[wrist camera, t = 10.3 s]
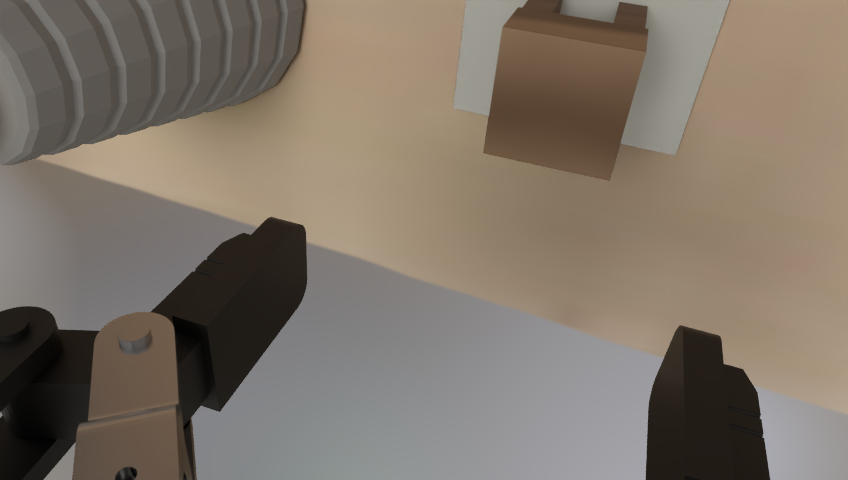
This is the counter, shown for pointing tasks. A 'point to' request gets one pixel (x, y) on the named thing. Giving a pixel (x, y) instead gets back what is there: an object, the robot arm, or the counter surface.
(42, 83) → the soap bottle
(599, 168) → the wooden pronged block
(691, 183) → the counter surface
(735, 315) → the counter surface
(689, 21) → the felt pad
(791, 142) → the counter surface
